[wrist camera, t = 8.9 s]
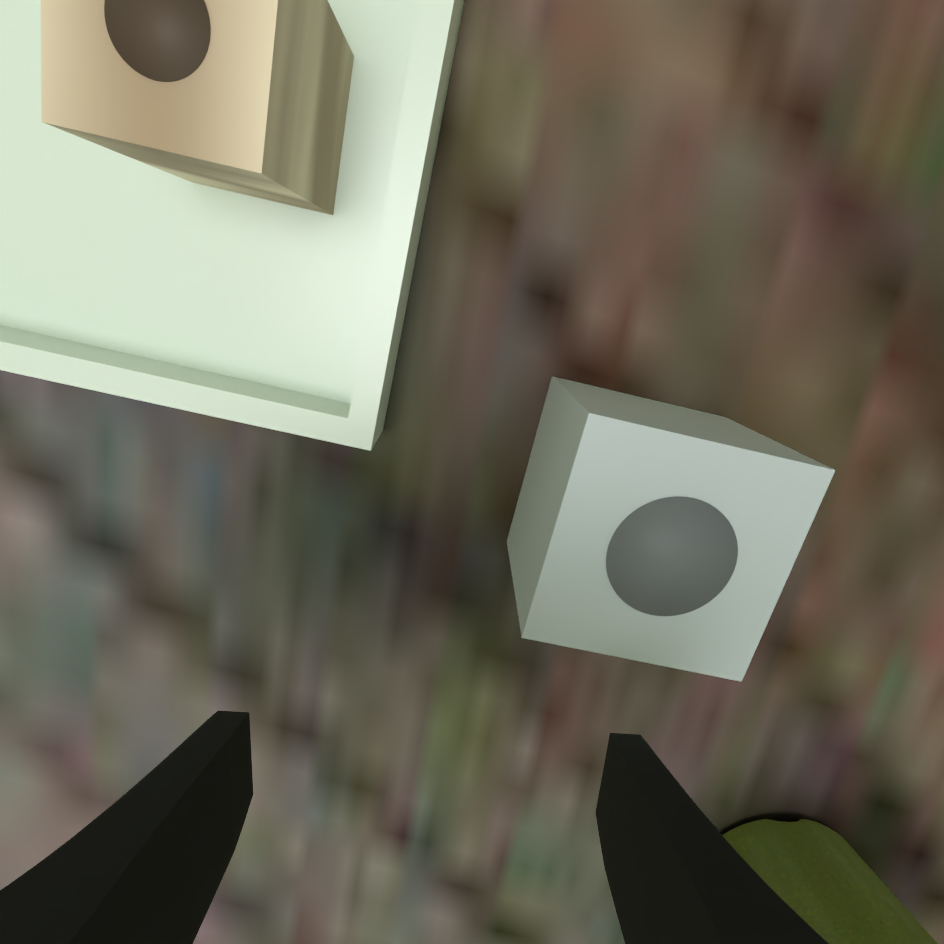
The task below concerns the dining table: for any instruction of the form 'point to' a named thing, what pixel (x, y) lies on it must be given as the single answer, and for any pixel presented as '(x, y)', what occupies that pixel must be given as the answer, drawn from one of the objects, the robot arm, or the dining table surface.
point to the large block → (656, 530)
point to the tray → (224, 248)
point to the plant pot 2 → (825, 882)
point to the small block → (205, 89)
